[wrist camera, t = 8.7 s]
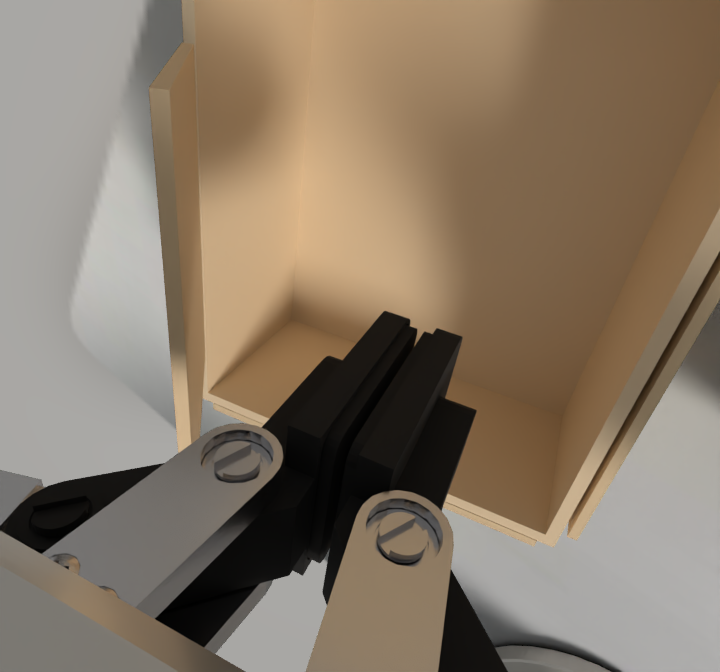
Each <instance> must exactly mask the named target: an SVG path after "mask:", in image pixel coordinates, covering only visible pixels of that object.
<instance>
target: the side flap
mask: <svg viewBox="0 0 720 672" xmlns="http://www.w3.org/2000/svg"><path fill="white" fill-rule="evenodd" d="M149 99H150V111H151V123H152V136H153V148H154V160H155V172H156V185H157V197H158V209H159V221H160V234H161V246H162V258H163V271H164V283H165V295H166V307H167V320H168V332H169V344H170V356H171V369H172V381H173V393H174V405H175V418H176V430H177V442H178V453H180V452H181V451H182V450H184V449H185V448H186V447H188V446H189V445H190V444H192V443H193V442H194V441H196V440H197V439H199V438H200V428H201V413H202V398H203V384H204V369H205V335H204V307H203V280H202V252H201V224H200V197H199V169H198V141H197V113H196V86H195V58H194V44H190V43H181V44H180V46H179V47H178V48H177V50H176V51H175V52H174V54H173V55H172V56H171V58H170V59H169V61H168V62H167V63H166V65H165V66H164V67H163V69H162V70H161V72H160V73H159V74H158V76H157V77H156V78H155V80H154V81H153V83H152V84H151V85H150V87H149Z"/></svg>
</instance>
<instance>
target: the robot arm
mask: <svg viewBox="0 0 720 672" xmlns="http://www.w3.org/2000/svg"><path fill="white" fill-rule="evenodd" d="M416 337H417V329H416V328H414V327H411V326H410V319H409V318H406V317H403V316H400V315H397V314H394V313H391V312H388V311H384V312H383V313H382V314H381V315H380V316H379V317H378V319H377V320H376V321H375V322H374V323H373V324H372V326H371V327H370V328H369V329H368V330H367V332H366V333H365V334H364V335H363V336H362V338H361V339H360V340H359V341H358V342H357V343H356V345H355V346H354V347H353V348H352V349H351V351H350V352H349V353H348V354H347V355H346V357H345V358H344V359H343V360H341V359H338V358H335V357H332V356H326V357H325V358H324V359H323V360H322V361H321V362H320V363H319V364H318V365H317V366H316V368H315V369H314V370H313V371H312V372H311V373H310V374H309V375H308V376H307V378H306V379H305V380H304V381H303V382H302V383H301V384H300V385H299V386H298V388H297V389H296V390H295V391H294V392H293V393H292V394H291V395H290V396H289V397H288V399H287V400H286V401H285V402H284V403H283V404H282V405H281V406H280V407H279V409H278V410H277V411H276V412H275V413H274V414H273V415H272V416H271V417H270V419H269V420H268V421H267V422H266V423H265V424H264V425H263V426H262V427H259V426H256V425H250V424H244V423H239V424H228V425H224V426H220V427H217V428H215V429H213V430H211V431H209V432H207V433H206V434H204V435H203V436H201V437H200V438H199V439H197V440H196V441H194V442H193V443H192V444H190V445H189V446H188V447H186V448H185V449H184V450H182V451H181V452H180V453H178V454H177V455H175V456H174V457H173V458H171V459H170V460H169V461H167V462H166V463H163V464H158V465H152V466H147V467H141V468H135V469H130V470H125V471H119V472H113V473H108V474H102V475H97V476H91V477H85V478H81V479H74V480H69V481H64V482H61V483H57V484H54V485H50V486H48V487H43V484H42V481H41V479H36V478H32V477H28V476H23V475H19V474H15V473H11V472H6V471H2V470H0V672H245V671H243V670H242V669H240V668H238V667H236V666H235V665H233V664H231V663H230V662H228V661H226V660H224V659H223V658H221V657H219V656H217V655H216V654H215V653H216V652H217V651H218V650H219V649H220V647H221V646H222V645H223V644H224V643H225V642H226V640H227V639H228V638H229V637H230V636H231V634H232V633H233V632H234V631H235V629H236V628H237V627H238V626H239V625H240V624H241V623H242V621H243V620H244V619H245V618H246V617H247V615H248V614H249V613H250V612H251V611H252V609H253V608H254V607H255V606H256V605H257V604H258V602H259V601H260V600H261V599H262V598H263V596H264V595H265V594H266V592H267V591H268V589H269V587H270V586H271V584H272V581H273V580H274V579H278V578H281V577H285V576H288V575H290V573H291V572H292V570H293V571H295V572H297V573H299V574H301V575H303V574H304V572H305V571H306V569H307V567H308V565H309V564H310V562H311V560H315V561H316V562H318V563H321V562H322V560H323V559H324V557H325V556H326V554H327V552H328V550H329V549H330V551H329V557H328V563H327V569H326V575H325V580H324V587H323V595H324V598H325V601H326V604H327V608H326V611H325V614H324V617H323V620H322V623H321V626H320V629H319V632H318V635H317V639H316V642H315V644H314V648H313V651H312V654H311V657H310V660H309V663H308V666H307V669H306V672H611V671H609V670H607V669H605V668H603V667H601V666H599V665H597V664H595V663H592V662H589V661H587V660H584V659H582V658H579V657H576V656H574V655H570V654H566V653H563V652H559V651H555V650H552V649H545V648H539V647H533V646H503V647H494V646H493V644H492V642H491V640H490V638H489V637H488V635H487V633H486V631H485V629H484V628H483V626H482V624H481V622H480V620H479V619H478V617H477V615H476V613H475V611H474V610H473V608H472V606H471V604H470V602H469V601H468V599H467V597H466V595H465V594H464V592H463V590H462V588H461V586H460V585H459V583H458V581H457V579H456V577H455V576H454V574H453V572H452V570H451V563H452V554H453V546H454V544H453V531H452V529H451V526H450V524H449V522H448V519H447V518H446V517H445V515H444V514H443V513H442V508H443V505H444V502H445V500H446V497H447V494H448V491H449V489H450V486H451V483H452V480H453V478H454V475H455V472H456V469H457V467H458V464H459V461H460V458H461V455H462V453H463V450H464V447H465V444H466V441H467V438H468V435H469V433H470V430H471V427H472V424H473V421H474V418H475V415H476V412H477V410H475V409H473V408H470V407H467V406H464V405H462V404H459V403H456V402H454V401H451V400H448V399H446V398H445V397H446V394H447V390H448V387H449V384H450V380H451V377H452V373H453V370H454V367H455V363H456V360H457V357H458V353H459V350H460V346H461V343H462V338H463V337H462V336H459V335H456V334H453V333H450V332H447V331H444V330H441V329H438V328H436V330H435V331H434V333H433V334H431V333H428V332H424V333H423V334H422V336H421V337H420V339H419V340H418V342H417V343H416V345H415V341H416ZM414 345H415V346H414Z"/></svg>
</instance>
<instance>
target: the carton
mask: <svg viewBox="0 0 720 672" xmlns="http://www.w3.org/2000/svg"><path fill="white" fill-rule="evenodd" d="M181 2H182V24H183V43H190V44H194V58H195V86H196V113H197V141H198V169H199V197H200V224H201V252H202V280H203V307H204V335H205V369H204V384H203V399H205V400H208V401H210V402H213V409H215V410H217V411H219V412H222V413H224V414H226V415H229V416H231V417H233V418H236V419H238V420H240V421H243V422H245V423H247V424H250V425H256V426H259V427H262V426H263V425H264V424H265V423H266V422H267V421H268V420H269V419H270V417H271V416H272V415H273V414H274V413H275V412H276V411H277V410H278V409H279V407H280V406H281V405H282V404H283V403H284V402H285V401H286V400H287V399H288V397H289V396H290V395H291V394H292V393H293V392H294V391H295V390H296V389H297V388H298V386H299V385H300V384H301V383H302V382H303V381H304V380H305V379H306V378H307V376H308V375H309V374H310V373H311V372H312V371H313V370H314V369H315V368H316V366H317V365H318V364H319V363H320V362H321V361H322V360H323V359H324V358H325V357H326V356H332V357H335V358H338V359H341V360H343V359H344V358H345V357H346V355H347V354H348V353H349V352H350V351H351V349H352V348H353V347H354V346H355V345H356V343H357V342H358V341H359V340H360V339H361V338H362V336H363V335H364V334H365V333H366V332H367V330H368V329H369V328H370V327H371V326H372V324H373V323H374V322H375V321H376V320H377V319H378V317H379V316H380V315H381V314H382V313H383V312H384V311H388V312H391V313H394V314H397V315H400V316H403V317H406V318H409V319H410V326H411V327H414V328H416V329H417V337H416V341H415V345H416V343H417V342H418V340H419V339H420V337H421V336H422V334H423V333H424V332H428V333H431V334H433V333H434V331H435V330H436V328H438V329H441V330H444V331H447V332H450V333H453V334H456V335H459V336H462V337H463V338H462V343H461V346H460V350H459V353H458V357H457V360H456V363H455V367H454V370H453V373H452V377H451V380H450V384H449V387H448V390H447V394H446V397H445V398H446V399H448V400H451V401H454V402H456V403H459V404H462V405H464V406H467V407H470V408H473V409H475V410H477V412H476V415H475V418H474V421H473V424H472V427H471V430H470V433H469V435H468V438H467V441H466V444H465V447H464V450H463V453H462V455H461V458H460V461H459V464H458V467H457V469H456V472H455V475H454V478H453V480H452V483H451V486H450V489H449V491H448V494H447V497H446V500H445V502H444V505H443V508H446V509H448V510H450V511H453V512H455V513H457V514H460V515H462V516H464V517H467V518H469V519H471V520H474V521H476V522H478V523H481V524H483V525H485V526H488V527H490V528H492V529H495V530H497V531H499V532H502V533H504V534H506V535H509V536H511V537H513V538H516V539H518V540H520V541H523V542H525V543H527V544H530V545H532V546H534V545H535V543H536V541H540V542H542V543H544V544H547V545H549V546H551V547H554V546H555V544H556V543H557V541H558V539H559V537H560V535H561V534H562V532H563V530H564V528H565V527H566V525H567V523H568V521H569V524H568V535H567V537H569V538H572V539H574V540H577V539H578V538H579V536H580V534H581V533H582V531H583V529H584V528H585V526H586V524H587V522H588V521H589V519H590V517H591V516H592V514H593V512H594V511H595V509H596V507H597V506H598V504H599V502H600V501H601V499H602V497H603V495H604V494H605V492H606V490H607V489H608V487H609V485H610V484H611V482H612V480H613V479H614V477H615V475H616V474H617V472H618V470H619V469H620V467H621V465H622V463H623V462H624V460H625V458H626V457H627V455H628V453H629V452H630V450H631V448H632V447H633V445H634V443H635V442H636V440H637V438H638V436H639V435H640V433H641V431H642V430H643V428H644V426H645V425H646V423H647V421H648V420H649V418H650V416H651V415H652V413H653V411H654V409H655V408H656V406H657V404H658V403H659V401H660V399H661V398H662V396H663V394H664V393H665V391H666V389H667V388H668V386H669V384H670V383H671V381H672V379H673V377H674V376H675V374H676V372H677V371H678V369H679V367H680V366H681V364H682V362H683V361H684V359H685V357H686V356H687V354H688V352H689V350H690V349H691V347H692V345H693V344H694V342H695V340H696V339H697V337H698V335H699V334H700V332H701V330H702V329H703V327H704V325H705V323H706V322H707V320H708V318H709V317H710V315H711V313H712V312H713V310H714V308H715V307H716V305H717V303H718V302H719V300H720V0H181ZM415 345H414V346H415Z"/></svg>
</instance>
